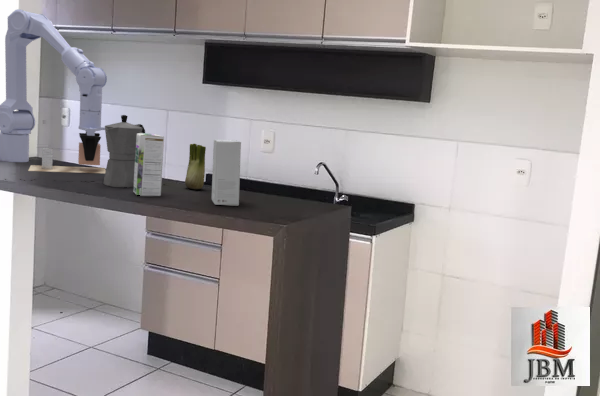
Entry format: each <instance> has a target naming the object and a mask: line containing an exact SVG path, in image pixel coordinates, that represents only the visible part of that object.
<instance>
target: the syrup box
mask: <svg viewBox="0 0 600 396" xmlns="http://www.w3.org/2000/svg"><path fill="white" fill-rule="evenodd" d="M164 144H165V136H162V135H160V134H155V133H149V132H145V133H137V137H136V153H135V168H134V187H133V188H132V191H133V193H134V194H135V195H136V196H137V195H140V196H139V197H161V196H162V182H163V181H162V180H163V165H164V162H163V161H164V148H165V145H164Z"/></svg>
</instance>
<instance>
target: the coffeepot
mask: <svg viewBox="0 0 600 396" xmlns="http://www.w3.org/2000/svg"><path fill="white" fill-rule="evenodd" d="M120 118H121V122H115V123H112V124H106V125H104V127H105V130H104V131H105V140H106V149H107V150H106V151H107V152H108V153H109V158H108V160H107V164H106V168H105V170H106V172H105V174H104V177H103V182H102V183H103V185H104V186H107V187H111V188H112V187H114V188H124V187H127V188H134V168H135V153H136V137H137V133H146V129H145V127H144V125H143V124H141V123H138V124H133V123H131V122H130V123H129V122H128V120H127V119H128V115H125V114H121V115H120ZM127 188H126V189H127Z"/></svg>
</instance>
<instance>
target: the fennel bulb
mask: <svg viewBox="0 0 600 396" xmlns="http://www.w3.org/2000/svg"><path fill="white" fill-rule="evenodd" d="M206 150H207V149H206V146H204V145H202V144H201V145H200V144H197V143H190V144H189V157H188V158H189V159H188V165H187V168H186V175H185V180H184V185H185V187H186V188H187V189H191V190H202V189H203V186H204V184H205V176H206V175H205V173H206V168H205V167H206Z"/></svg>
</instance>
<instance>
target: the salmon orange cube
mask: <svg viewBox="0 0 600 396" xmlns="http://www.w3.org/2000/svg"><path fill="white" fill-rule="evenodd" d="M77 158H78V160H77V161H78V165H80V166H81V165H84V166H100V165H101V143H100V142H98V145H97V148H96V152H95V157H94V160H93V161H86V160H85V155H84V148H83V143H82V142H78V157H77Z"/></svg>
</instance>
